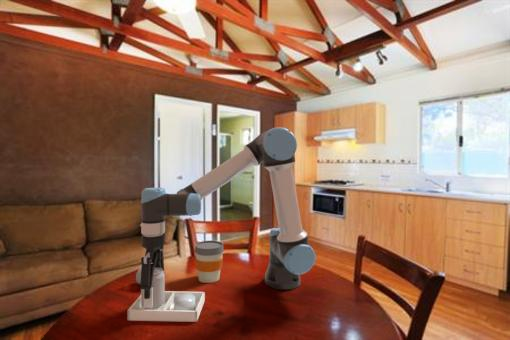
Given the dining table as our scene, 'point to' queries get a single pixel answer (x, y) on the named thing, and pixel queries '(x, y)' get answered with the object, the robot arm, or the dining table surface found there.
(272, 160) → the robot arm
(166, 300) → the caddy
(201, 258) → the reusable coffee cup
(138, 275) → the ceramic mug
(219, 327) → the dining table surface
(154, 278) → the can
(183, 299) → the white dome
